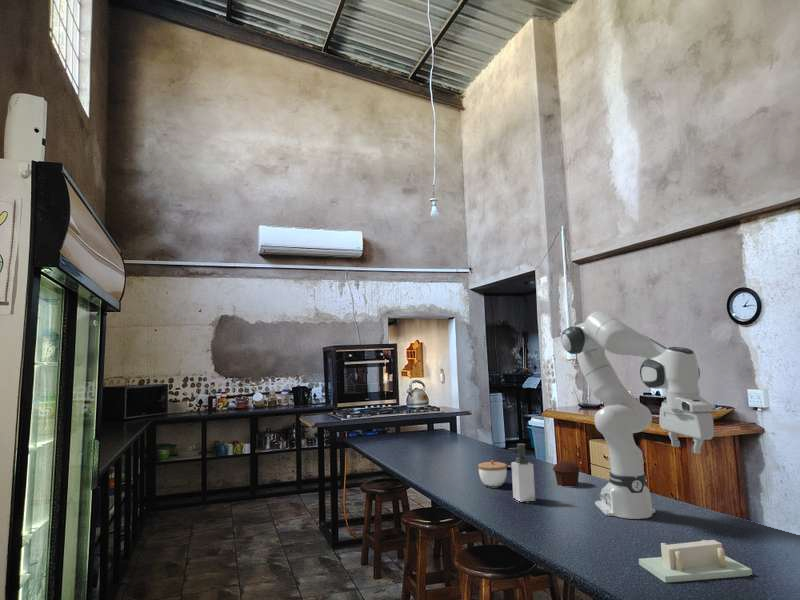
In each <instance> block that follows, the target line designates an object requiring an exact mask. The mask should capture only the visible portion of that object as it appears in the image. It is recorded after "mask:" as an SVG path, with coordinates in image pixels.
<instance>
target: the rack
mask: <svg viewBox="0 0 800 600" xmlns="http://www.w3.org/2000/svg"><path fill="white" fill-rule="evenodd" d="M701 541H707V540H706V539H701ZM661 545H668V543H666V542H661V543H660V546H661ZM660 549H661V550H660V551H661V554H662V548H661V547H660ZM717 551H718V562H719V564H711V565H702V566H694V567H686V568H683V561H682V552H680V551H675V559H676V569H669V568H667V567H666V566H664V565H663V560H662V556H658V557H646V558H645V557H644V558H643V557H642V558H638V565H640V566H641V568H643V569H645V570H646V571H648V572H649V573H651V574H652V575H654V576H655V577H656V578H658V579H659V580H661V581H662V582H664V583H665V584H666V583H667V584H669V583H678V582H679V583H680V582H681V583H682V582H688V581H689V582H691V581H692V582H693V581H701V580H713V579H714V580H715V579H727V578H728V579H729V578H737V577H739V578H741V577H750V575H752V576H753V570H752V569H751V568H750V567H748V566H747V565H744V564H742V563H740V562H738V561H737V560H734V559H732V558H730V557H728V556H727V555H726V554H725V553H726V552H725V549H724V548H723V547H722V548H717Z"/></svg>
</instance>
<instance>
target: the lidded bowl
mask: <svg viewBox="0 0 800 600" xmlns="http://www.w3.org/2000/svg"><path fill="white" fill-rule="evenodd" d="M477 465H478V466H477V467H478V474H479V478H480V480H481V482H482V483H483V484H484V486H485V485H489V486H500V485H501V486H502V485H503V484H504V483H505V481H506V479H507V473H508V472H507V468H508V467H507V465H508V464H506V463H504V462H500V461H494V460H493V459H491V460H490V461H486V462H485V461H483V462H480V463H478V464H477ZM501 486H500V487H501Z"/></svg>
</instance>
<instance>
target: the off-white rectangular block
mask: <svg viewBox="0 0 800 600" xmlns="http://www.w3.org/2000/svg"><path fill="white" fill-rule="evenodd" d="M661 548H662V553H661V557H662V560H663V565H664V566H666V567H667V568H669V569H676V559H675V551H680V552H682V561H683V568H686V567H694V566H702V565H711V564H719V562H718V551H717V548H723V544H722V543H721V542H719V541H717V540H715V539H708V540H707V541H702V540H701V541H699V540H698V541H692V542H691V541H690V542H680V543H671V544H667V545H661V544H660V549H661Z"/></svg>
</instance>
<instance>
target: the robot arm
mask: <svg viewBox="0 0 800 600" xmlns="http://www.w3.org/2000/svg"><path fill="white" fill-rule="evenodd" d="M560 337H561V338H560V340H561V344H562V348H563V349H564V350H565V351H566V352H567V353H569V354H571V355H576V359H577V362H578V366H579V368H580V371H581V373H582V375H583V378H584V379H585V381H586V383H587V385H588V387H589V389H590V391H591V393H592V395H593V396H594V397H595V398H596V399H597V400H599V401H600V402H602V403H603V404H604V405H605V407H602V408H600V409H599V410H597V412H596V413H595V414H594V419H593V420H594V421H593V422H594V426H595V428H596V430H597V431H598V432H599V433H600V434H601V435H603V438H604V440H605V443H606V444H607V445H606V446H607V447H608V452H609V461H610V471H608V476H609V477H608V483H607V484H606V485H605V486H604V487H602V488H601V490H600V492H599V498H600V500H596V501H594V504H595V506H596V507H597V508H598V509H599V510H600V511H601V512H602V513H603V514H604V515H605V516H610V517H618V518H623V519H628V520H629V519H630V520H631V519H634V520H640V519H648V518H651V517H653V514H655V513H656V508H653V504H652V497H651V491H650V489H649V488H648V487H647V477H646V473H645V472H644V471H645V470H644V455H643V452H642V450H641V449H640V448H639V447H638V445H637V444H636V442H635V439H634V434H637V433H641V432H642V431H645V430H646V429H648V428H649V427H650V426H651V424H652V422H653V415H652V412H651V411H650V409H649V408H648V407H647V406H646V405H644V404H642V403H641V402H640V401H638V400H637V398H636V397H635V396H633V394H631V392H630V391H629V390H628V389H627V388H626V387H625V386H624V384H623V383H622V381H621V380H620V378H619V376H618V375H617V372H616V371H615V369H614V368H613V366H612V363H611V362H610V361H609V359H608V357H607V356H606V351H607V352H609V353H611V354H615V355H618V356H619V355H620V356H633V357H635V356H636V357H640V358H646V359H645V360H644V361H643V362H642V363H641V365H640V367H639V368H640V369H639V376H640V380H641V382H642V383H643V384H644V385H645V386H646V387H647V388H650V389H654V390H655V389H658V390H659V389H664V390H665V389H666V391H665V393H666V399H664V400H663V401H662V402H661V407H660V408H659V427H660V429H662V430H664V431H667V432H668V433H667V434H668V437H669V438H670V440H671V442H670V443H671V446H672V447H674V448H679V447H680V446H681V443H680V440H679V439H678V434H679V435H683V436H686V437H691V438H692V439H693V440H692V441H693V442H694V444H693V446H691V453H693V454H697V455H700V454H701V453H702V446H703V444H704V441H705V440H709V441H710V440H712V439H713V437H714V436H715V428H714V427H715V426H714V417H713V415H712V413H711V412H713V410H714V408H713V407H714V406H713V404H712V403H711V402H709V401H707V400H706V399H704V397H702V396H701V392H700V389H699V384H698V383H699V379H700V376H701V372H700V370H701V369H700V368H699V365H698V364H699V363H698V358H697V356H696V353H695V352H694V350H692V349H691V348H687V347H681V346H678V347H677V346H671V347H668V348H667V347H666V346H664V345H662V344H661V343H659V342H657V341H655V340H654V339H652V338H650V337H648V336H646V335H644V334H642V333H640V332H638V331H636V330H635V329H633V328H632V327H630V326H629V325H627V324H625V323H624V322H622V321H621V320H620V319H618V318H617V317H615V316H613V315H611V314H610V313H608V312H606V311H605V312H604V311H602V310H597V311H593V312H591V313H590V314H589V315H588V316H587V317H586V319H585V321H584V322H582V323H578V324H576V325H573V326H569V327H567V328H565V329H564V330H563V331H562V333H561V335H560Z"/></svg>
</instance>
